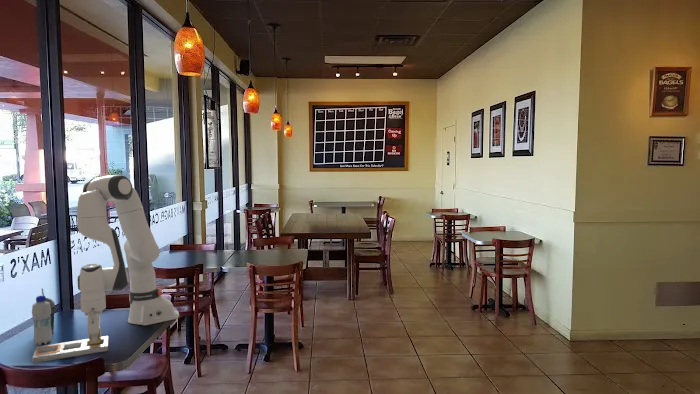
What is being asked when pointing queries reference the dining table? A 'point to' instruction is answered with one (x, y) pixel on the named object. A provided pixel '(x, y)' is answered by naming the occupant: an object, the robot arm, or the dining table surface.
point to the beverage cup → (51, 310)
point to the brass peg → (97, 339)
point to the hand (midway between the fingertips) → (95, 338)
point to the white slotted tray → (60, 349)
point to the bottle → (42, 321)
